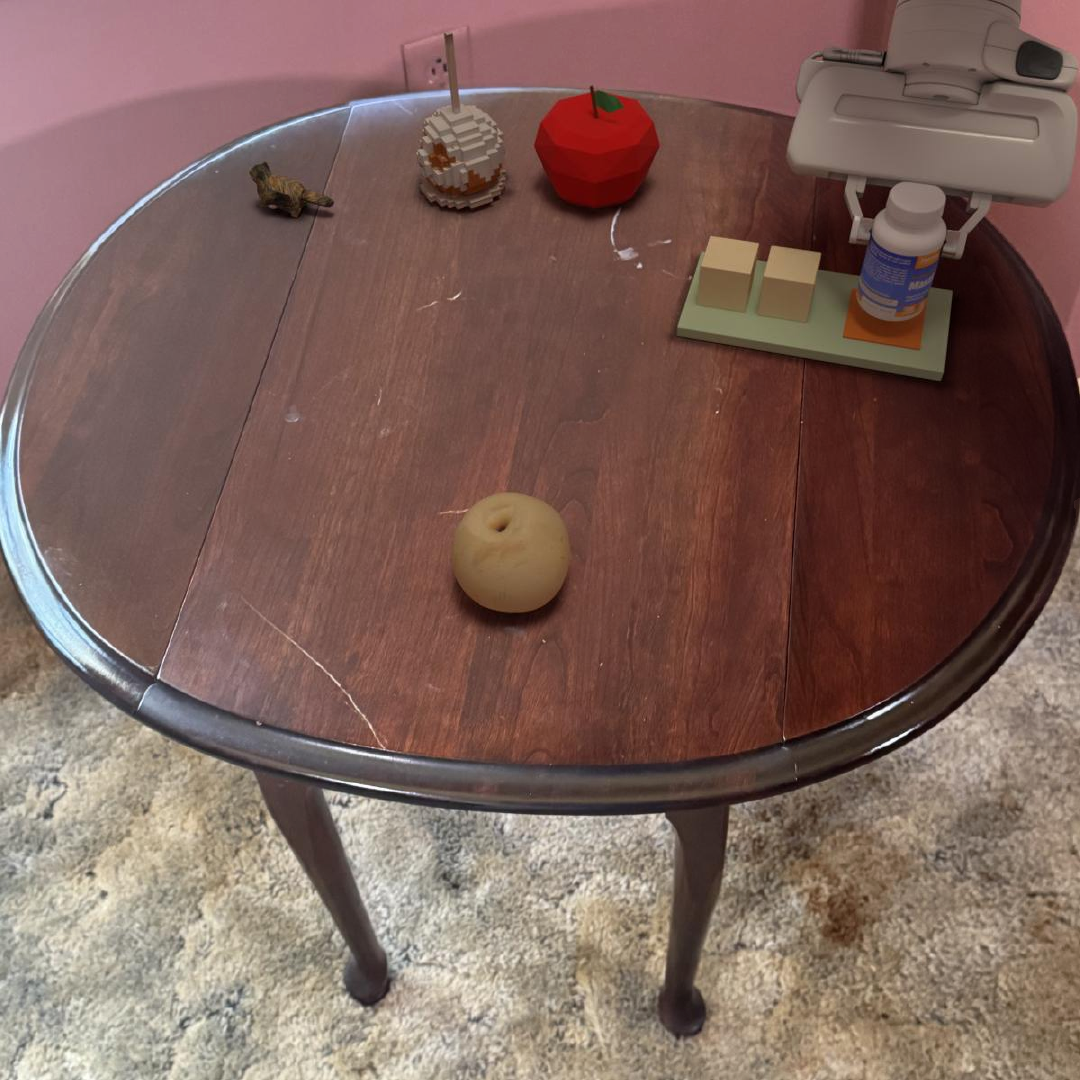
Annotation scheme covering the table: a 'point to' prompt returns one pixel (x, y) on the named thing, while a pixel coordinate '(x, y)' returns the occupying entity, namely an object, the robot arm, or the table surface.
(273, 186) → the cat figurine
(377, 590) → the table surface
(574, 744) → the table surface
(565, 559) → the apple
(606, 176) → the apple
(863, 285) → the pill bottle
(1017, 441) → the table surface
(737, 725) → the table surface
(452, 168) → the caramel apple
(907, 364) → the word mat
